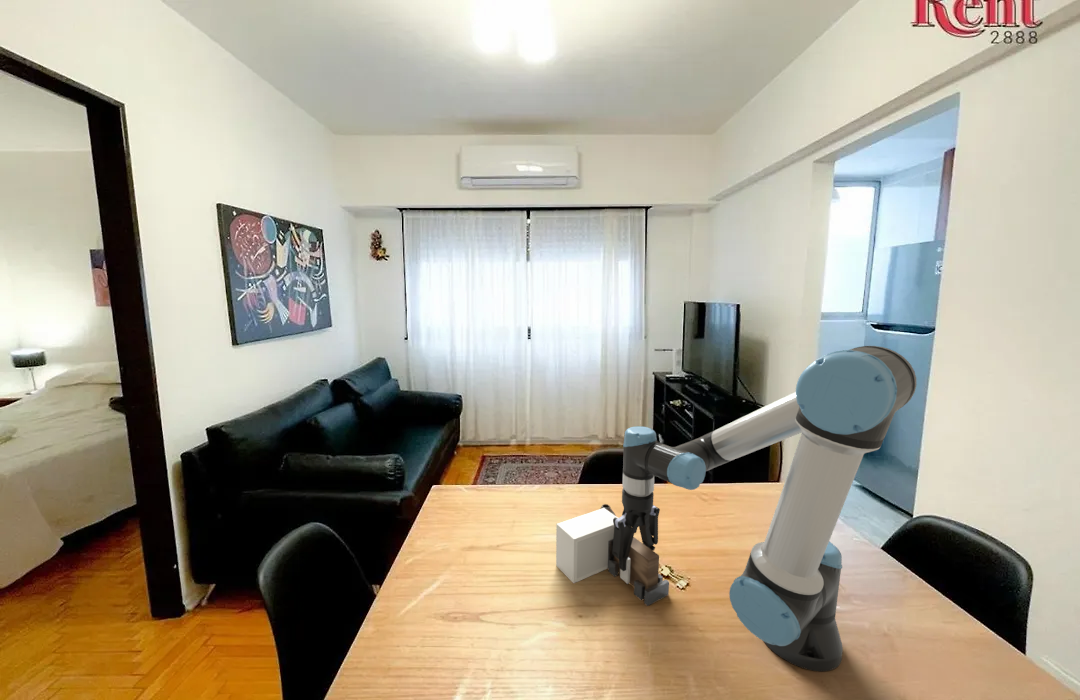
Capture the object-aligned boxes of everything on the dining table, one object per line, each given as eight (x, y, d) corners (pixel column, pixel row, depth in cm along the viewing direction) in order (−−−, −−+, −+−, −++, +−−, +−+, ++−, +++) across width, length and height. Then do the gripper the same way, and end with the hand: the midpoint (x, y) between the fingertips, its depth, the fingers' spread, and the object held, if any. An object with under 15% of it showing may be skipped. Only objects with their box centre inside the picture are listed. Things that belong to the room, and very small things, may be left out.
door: (657, 593, 101) (659, 555, 100) (646, 598, 99) (648, 560, 98) (623, 565, 111) (624, 530, 110) (613, 569, 110) (614, 534, 108)
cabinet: (622, 562, 112) (623, 521, 111) (573, 583, 104) (574, 539, 102) (602, 546, 119) (603, 507, 117) (556, 565, 111) (556, 523, 109)
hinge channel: (668, 594, 100) (670, 564, 99) (647, 606, 97) (648, 574, 96) (626, 560, 113) (627, 533, 112) (606, 569, 110) (606, 541, 108)
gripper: (654, 475, 110) (650, 555, 113) (598, 492, 100) (596, 579, 104) (676, 486, 103) (672, 571, 107) (618, 506, 94) (616, 598, 97)
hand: (634, 575), depth 105 cm, fingers open, 6 cm apart
